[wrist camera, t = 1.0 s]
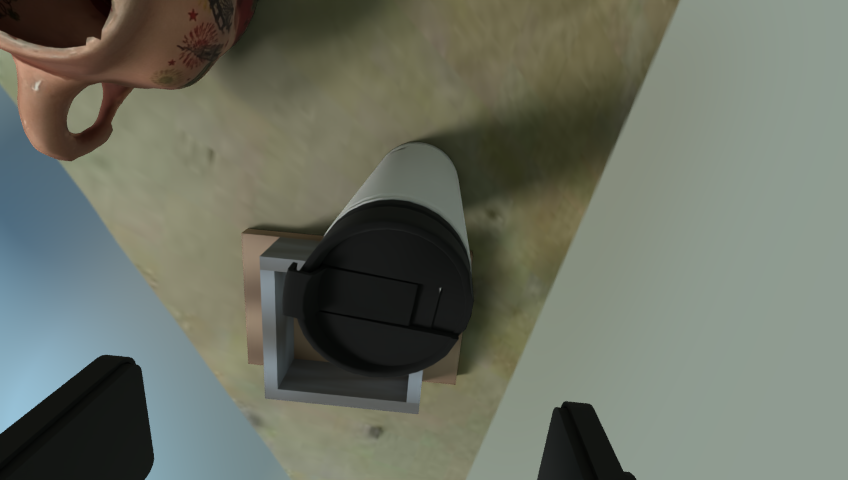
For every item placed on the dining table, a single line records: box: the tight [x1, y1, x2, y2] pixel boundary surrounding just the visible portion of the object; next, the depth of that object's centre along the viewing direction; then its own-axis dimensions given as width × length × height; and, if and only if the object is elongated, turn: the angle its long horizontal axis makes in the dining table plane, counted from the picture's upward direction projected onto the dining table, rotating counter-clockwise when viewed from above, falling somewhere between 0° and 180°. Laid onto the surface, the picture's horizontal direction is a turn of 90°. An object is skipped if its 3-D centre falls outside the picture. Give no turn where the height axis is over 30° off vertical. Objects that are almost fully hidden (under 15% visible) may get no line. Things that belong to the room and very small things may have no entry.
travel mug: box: [282, 142, 474, 378], centre depth 24 cm, size 6×7×20 cm
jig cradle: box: [241, 228, 473, 414], centre depth 35 cm, size 12×18×5 cm, turn 85°
